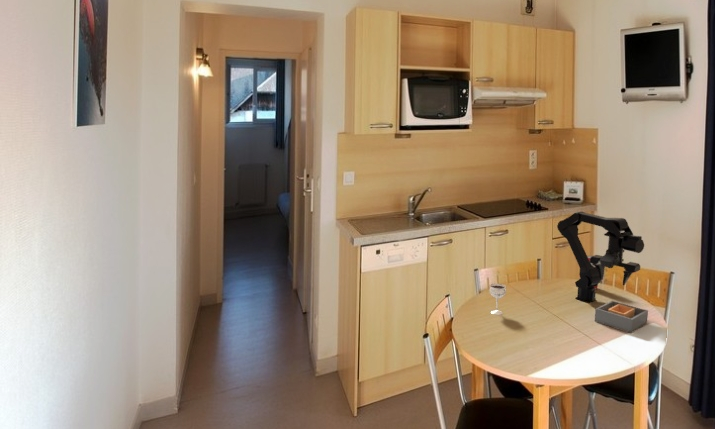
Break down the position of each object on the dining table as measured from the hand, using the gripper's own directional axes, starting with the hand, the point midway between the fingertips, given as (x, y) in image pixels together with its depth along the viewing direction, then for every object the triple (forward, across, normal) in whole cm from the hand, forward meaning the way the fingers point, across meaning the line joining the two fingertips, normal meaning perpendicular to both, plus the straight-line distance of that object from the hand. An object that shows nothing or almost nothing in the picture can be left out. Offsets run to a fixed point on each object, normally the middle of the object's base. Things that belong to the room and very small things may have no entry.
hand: (612, 282), depth 197 cm
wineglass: (+12, -28, -42) cm, 52 cm away
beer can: (+12, -18, +18) cm, 28 cm away
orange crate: (+11, +9, -12) cm, 19 cm away
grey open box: (+12, +10, -12) cm, 19 cm away
